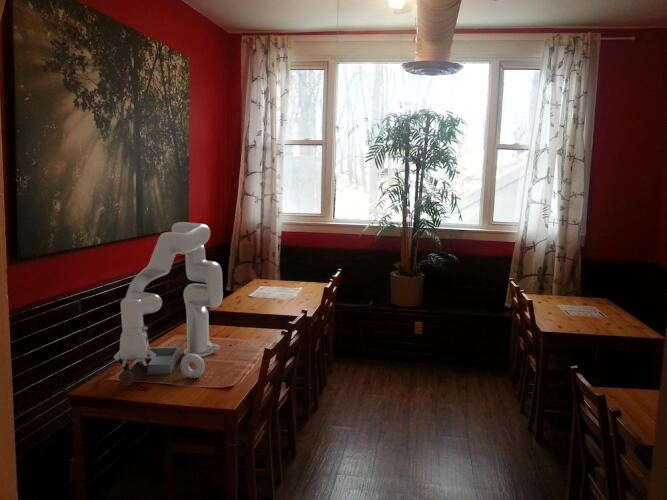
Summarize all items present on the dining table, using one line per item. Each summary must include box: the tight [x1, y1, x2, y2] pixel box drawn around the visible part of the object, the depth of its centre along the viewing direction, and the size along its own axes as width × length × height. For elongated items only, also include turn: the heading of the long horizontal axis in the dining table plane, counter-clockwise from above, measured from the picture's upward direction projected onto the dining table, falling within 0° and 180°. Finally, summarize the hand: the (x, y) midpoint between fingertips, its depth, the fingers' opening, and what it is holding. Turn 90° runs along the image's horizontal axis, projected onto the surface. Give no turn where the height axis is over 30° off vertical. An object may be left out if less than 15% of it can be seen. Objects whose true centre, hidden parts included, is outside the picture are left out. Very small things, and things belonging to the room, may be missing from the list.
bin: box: [131, 346, 181, 376], centre depth 225 cm, size 15×21×4 cm
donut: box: [179, 354, 206, 379], centre depth 212 cm, size 10×4×10 cm, turn 80°
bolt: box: [118, 361, 143, 386], centre depth 205 cm, size 6×5×15 cm
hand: (136, 374), depth 206 cm, fingers closed on bolt, 5 cm apart
